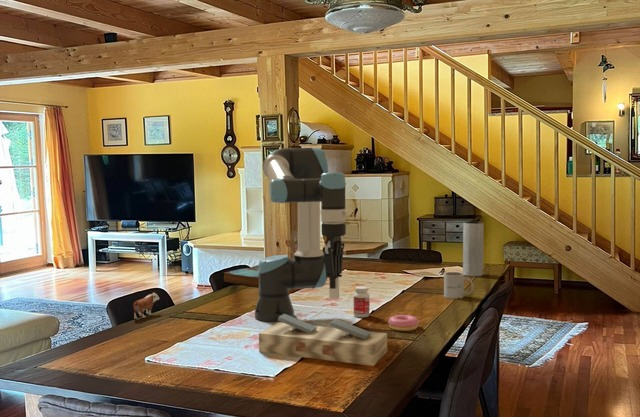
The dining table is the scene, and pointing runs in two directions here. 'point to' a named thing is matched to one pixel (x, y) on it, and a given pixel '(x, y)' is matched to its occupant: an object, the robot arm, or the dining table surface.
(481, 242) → the vase
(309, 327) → the rocker
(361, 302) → the pill bottle
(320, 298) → the dining table surface
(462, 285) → the mug
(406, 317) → the doughnut
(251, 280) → the book
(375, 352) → the console
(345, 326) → the rocker
